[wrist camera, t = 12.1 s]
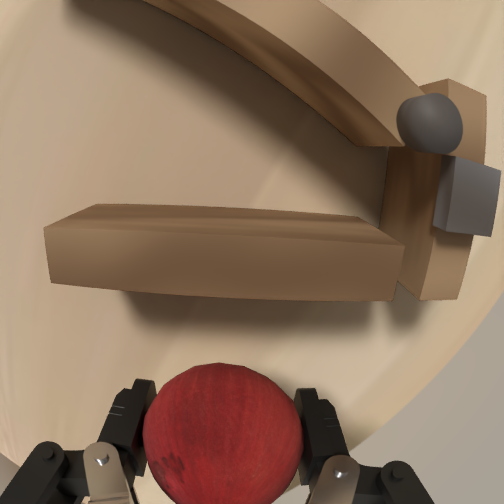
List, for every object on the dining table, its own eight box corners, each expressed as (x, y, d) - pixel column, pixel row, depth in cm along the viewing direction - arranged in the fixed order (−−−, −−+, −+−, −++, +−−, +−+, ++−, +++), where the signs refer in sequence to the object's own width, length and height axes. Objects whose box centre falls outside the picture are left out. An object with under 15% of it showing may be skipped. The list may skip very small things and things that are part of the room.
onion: (192, 422, 14) (176, 557, 7) (141, 340, 12) (77, 498, 5) (300, 401, 14) (330, 545, 6) (271, 307, 12) (304, 495, 5)
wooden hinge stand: (102, 76, 11) (37, 47, 6) (428, 105, 12) (503, 96, 7) (98, 245, 13) (39, 292, 8) (410, 261, 14) (471, 308, 9)
